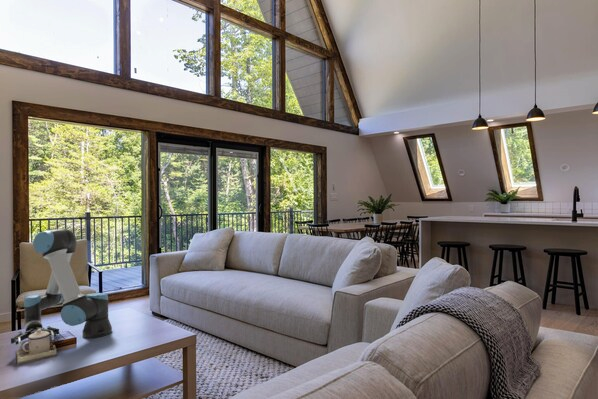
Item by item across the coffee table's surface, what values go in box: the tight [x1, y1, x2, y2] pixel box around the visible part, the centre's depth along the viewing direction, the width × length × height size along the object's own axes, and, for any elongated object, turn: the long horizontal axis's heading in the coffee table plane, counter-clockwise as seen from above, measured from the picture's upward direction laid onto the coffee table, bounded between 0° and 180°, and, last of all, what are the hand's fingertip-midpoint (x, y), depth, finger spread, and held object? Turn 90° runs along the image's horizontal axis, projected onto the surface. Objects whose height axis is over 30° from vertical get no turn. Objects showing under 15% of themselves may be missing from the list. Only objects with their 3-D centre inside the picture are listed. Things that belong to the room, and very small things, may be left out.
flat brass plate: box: [15, 346, 58, 366], centre depth 192 cm, size 20×16×1 cm
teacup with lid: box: [21, 329, 51, 355], centre depth 190 cm, size 12×9×12 cm
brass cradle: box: [16, 344, 58, 363], centre depth 187 cm, size 8×16×2 cm, turn 128°
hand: (36, 340), depth 187 cm, fingers open, 13 cm apart
